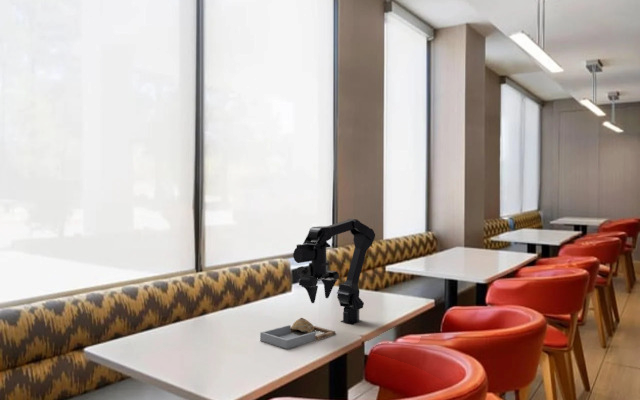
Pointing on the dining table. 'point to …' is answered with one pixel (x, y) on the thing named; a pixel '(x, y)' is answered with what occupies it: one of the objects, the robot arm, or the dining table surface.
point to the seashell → (303, 325)
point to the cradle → (326, 331)
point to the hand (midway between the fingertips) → (319, 300)
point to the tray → (285, 337)
